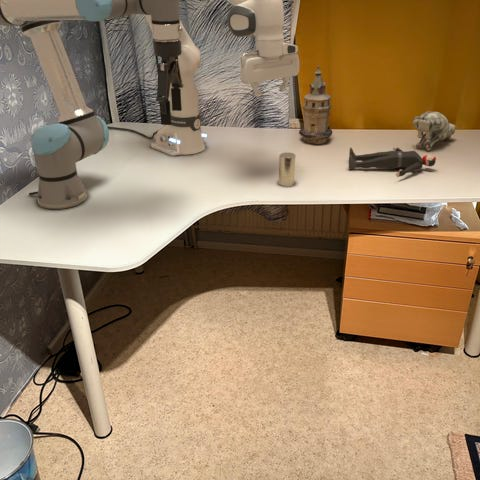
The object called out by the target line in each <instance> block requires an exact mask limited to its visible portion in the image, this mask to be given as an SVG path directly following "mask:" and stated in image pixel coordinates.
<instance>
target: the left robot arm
mask: <svg viewBox="0 0 480 480" xmlns="http://www.w3.org/2000/svg"><path fill="white" fill-rule="evenodd" d="M144 14H145V15H151V20H152V31H151V37H152V39H153V42H152V46H153V55H154V56H155V57H159V58H160V62H158V63H157V88H156V98H155V103H156V102H157V103H159V114H160V116H159V117H160V125H162V126H164V125H171V110H170V98H169V92H170V82H171V85H172V87H174V88H171V97H172V111H181V110H182V107H181V88H183V84H182V79H181V73H180V68H179V62H178V56H179V55H181V53H182V50H181V41H180V40H178V39H180V38H181V34H180V31H182V27H180V21H181V18H180V0H0V25H1V26H3V27H7V28H13V27H20V29H21V31H22V34H23V35H24V36H26V37H28V38H30V40H31V43H32V46H33V48H34V51H35V53H36V55H37V57H38V60H39V63H40V66H41V68H42V71H43V73H44V76H45V78H46V81H47V83H48V85H49V88H50V91H51V93H52V96H53V98H54V101H55V103H56V106H57V109H58V111H59V113H60V116H59V119H58V123H51V124H49V125H48V124H46V125H44V126H41V127H39V128H36V130H34V131H33V133H32V134H31V138H30V141H31V150H32V153H33V157H34V161H35V166H36V170H37V175H38V186H37V187H38V188H37V191H33V192H29V193H28V195H29V196H34V195H36V199H37V204H38V205H39V207H41V208H43V209H47V210H65V209H70V208H73V207H76V206H79V205H80V204H82V203H84V202H85V201H86V200H87V198H88V194H87V193H88V192H87V190H86V188H85V185H84V184H83V182H82V180H81V178H80V177H79V175H78V170H77V163H78V162H80V161H82V160H84V159H87V158H88V157H90V156H93V155H97V154H99V152H101V151H103V150H104V149H105V148H106V147H107V145H108V143H109V141H110V131H109V128H108V127H109V126H108V125H107V123H106V121H105V120H103V119H102V117H100V116H99V115H96V113H95V111H94V109H92V108H90V107H88V106H87V104H86V101H85V98H84V95H83V93H82V90H81V88H80V84H79V81H78V79H77V77H76V75H75V71H74V69H73V66H72V64H71V61H70V58H69V56H68V53H67V50H66V48H65V45H64V42H63V40H62V37H61V35H60V32H59V29H60V26H61V21H87V22H102V21H105V20H110V19H114V18H122V17H127V16H132V15H144ZM145 15H144V16H145ZM179 18H180V19H179Z"/></svg>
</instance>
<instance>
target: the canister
mask: <svg viewBox="0 0 480 480" xmlns="http://www.w3.org/2000/svg"><path fill="white" fill-rule="evenodd" d="M278 159H279V161H278V162H279V163H278V184H279V186H282V187H292V186H294V185H295V175H296V173H295V172H296V154H295V153H294V152H289V151H288V152H287V151H286V152H282V153H280V154H279V157H278Z"/></svg>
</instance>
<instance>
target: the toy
mask: <svg viewBox="0 0 480 480" xmlns="http://www.w3.org/2000/svg"><path fill="white" fill-rule="evenodd" d="M348 153H349V154H348V169H349V170H354V169H372V168H374V169H390V170H393V169H397V168H405V169H399V170H398V172H396V173H395V177H396V178H401V177H403V176H405V175H406V174H408V173H412V172H418V171H421V169H422V167H423V166H426V167H433V166H435V165H436V160H437V157H436V156H435V155H433V154H426V155H423V157H421V155H420V154H419V153H418V152H417V151H416V150H408V151H403V150H402V149H401V148H400V147H398V146H397V147H392V150H389V151H377V152H373V153H365V154H364V153H363V154H356V153H355V152H354V150H353V148H352V147H350V148H349V152H348Z"/></svg>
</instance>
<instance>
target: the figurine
mask: <svg viewBox="0 0 480 480" xmlns="http://www.w3.org/2000/svg"><path fill="white" fill-rule="evenodd" d="M412 126H414V127H415V129H416V131H417V136H416V138H418V139H420V140H419V141H418V143H416V148H417V149H420V150H421V149H423V147H424V144H425V143H426V142H427V141H428V143H427V144H426V146H425V150H426V151H428V152H430V151H432V147H433V145H434V144H435V143H436V142H442V141H444V140H450V141H451V139H452V135H454V134H455V132H456V125H455V124H454V123H450V122H449V120H448V119H447V117H446V116H445V115H444V114H442V113H440V112H438V111H426V112H424V113H422V114H421V115H420V116H415V117H414V118H413V120H412Z"/></svg>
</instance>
